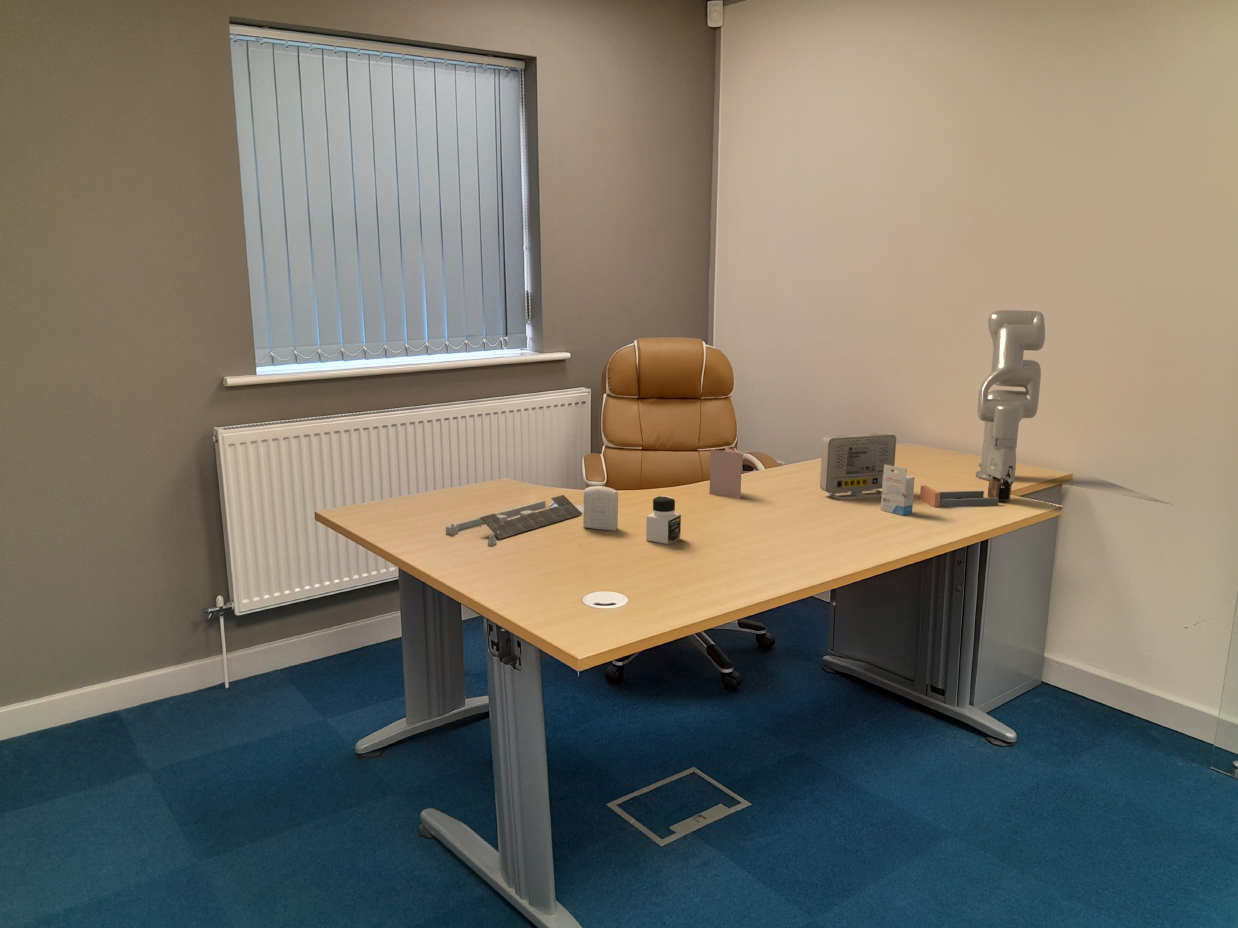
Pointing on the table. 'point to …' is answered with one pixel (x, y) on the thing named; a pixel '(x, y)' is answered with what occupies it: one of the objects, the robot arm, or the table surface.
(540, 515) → the paper cutter
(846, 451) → the network device
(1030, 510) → the table surface
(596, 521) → the gravestone
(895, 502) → the ink box
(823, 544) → the table surface
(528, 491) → the table surface
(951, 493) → the guide channel
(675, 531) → the medicine bottle
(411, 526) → the table surface
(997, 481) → the block
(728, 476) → the greeting card
